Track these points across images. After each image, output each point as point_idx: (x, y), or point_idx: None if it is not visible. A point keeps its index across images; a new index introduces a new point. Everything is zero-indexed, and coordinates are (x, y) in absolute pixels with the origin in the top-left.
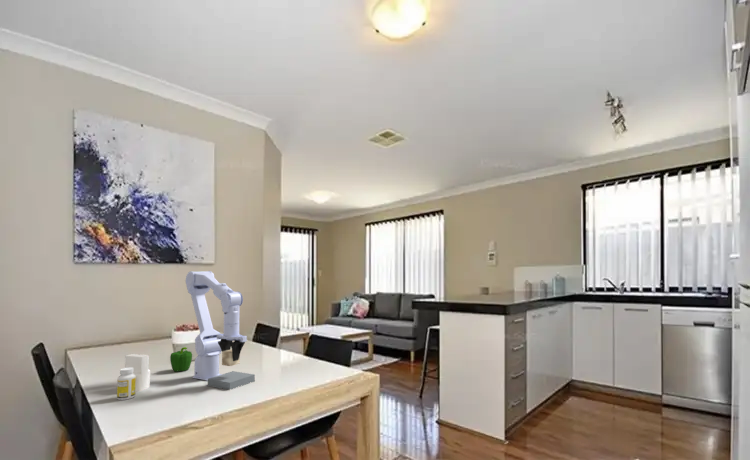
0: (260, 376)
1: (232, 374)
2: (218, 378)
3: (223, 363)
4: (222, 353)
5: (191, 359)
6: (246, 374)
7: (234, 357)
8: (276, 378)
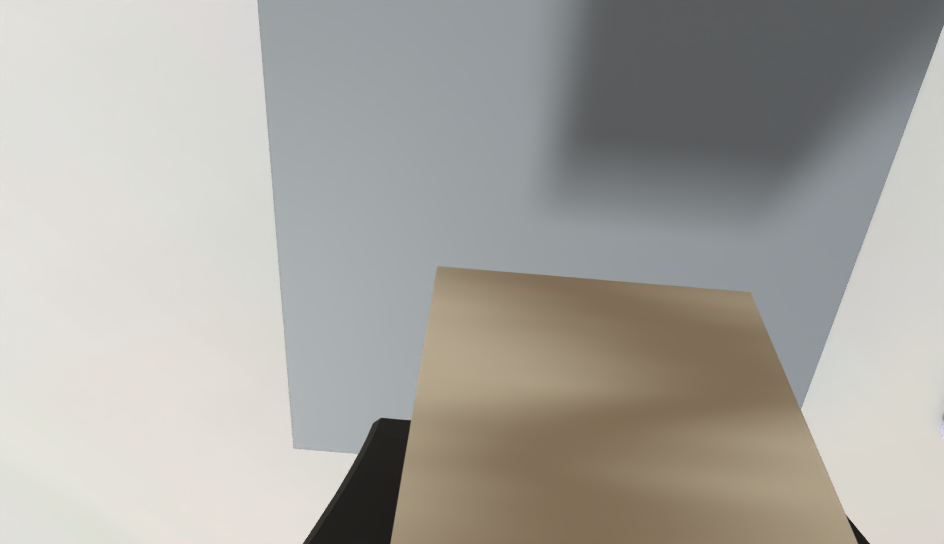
0: None
1: None
2: (721, 94)
3: (698, 313)
4: (829, 532)
5: None
6: None
7: (346, 485)
8: (168, 528)
